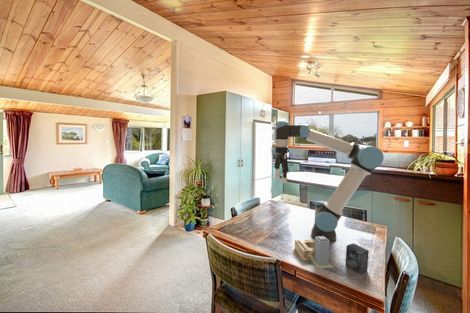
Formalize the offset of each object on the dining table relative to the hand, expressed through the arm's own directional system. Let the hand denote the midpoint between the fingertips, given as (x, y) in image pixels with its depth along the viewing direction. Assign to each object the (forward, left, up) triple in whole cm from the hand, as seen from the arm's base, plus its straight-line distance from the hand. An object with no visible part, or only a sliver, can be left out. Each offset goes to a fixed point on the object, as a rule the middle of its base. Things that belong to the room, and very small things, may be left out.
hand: (280, 180), depth 135 cm
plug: (-13, +30, -36) cm, 49 cm away
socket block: (-12, +20, -37) cm, 43 cm away
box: (-28, +35, -37) cm, 58 cm away
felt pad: (-13, +30, -37) cm, 49 cm away
